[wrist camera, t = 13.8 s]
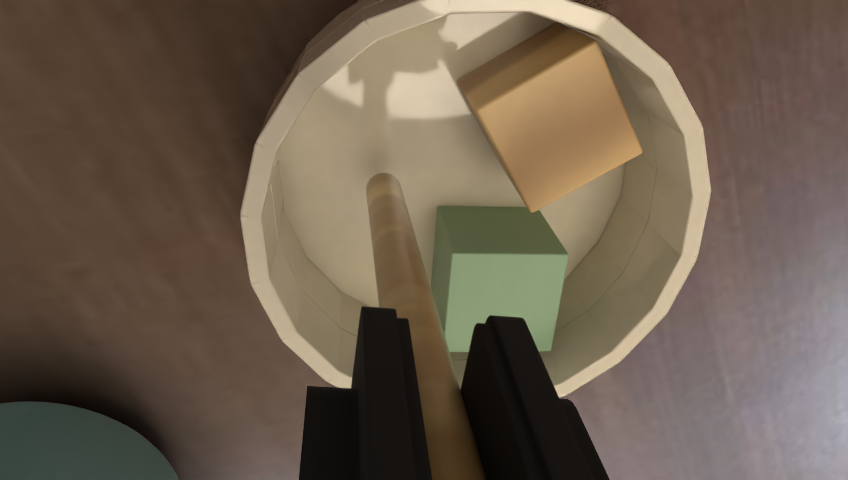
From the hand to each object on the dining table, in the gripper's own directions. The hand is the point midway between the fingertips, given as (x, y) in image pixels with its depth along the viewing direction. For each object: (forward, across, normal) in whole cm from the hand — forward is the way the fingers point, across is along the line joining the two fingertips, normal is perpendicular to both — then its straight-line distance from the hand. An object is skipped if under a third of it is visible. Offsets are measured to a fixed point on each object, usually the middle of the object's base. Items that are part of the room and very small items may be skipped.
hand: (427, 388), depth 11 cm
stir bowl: (+15, -3, +1) cm, 15 cm away
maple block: (+14, -5, -2) cm, 15 cm away
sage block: (+14, -4, +4) cm, 15 cm away
